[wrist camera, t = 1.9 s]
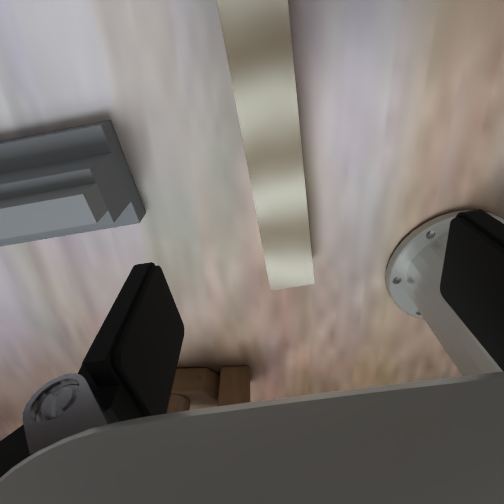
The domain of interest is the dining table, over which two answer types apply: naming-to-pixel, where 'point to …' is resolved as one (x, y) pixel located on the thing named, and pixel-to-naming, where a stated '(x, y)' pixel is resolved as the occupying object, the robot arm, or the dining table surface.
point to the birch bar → (270, 132)
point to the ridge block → (65, 184)
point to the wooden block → (209, 388)
